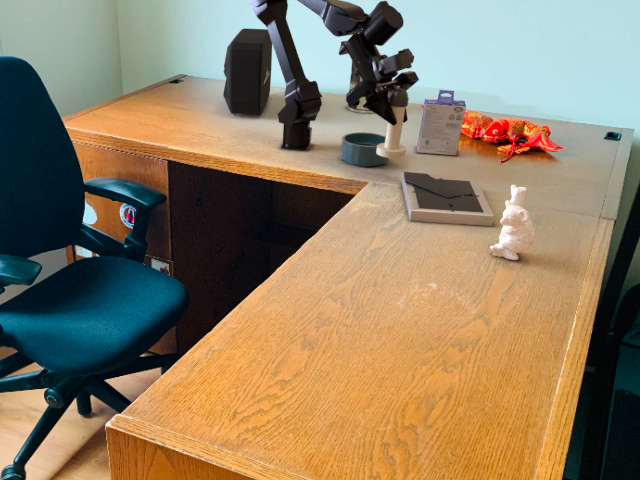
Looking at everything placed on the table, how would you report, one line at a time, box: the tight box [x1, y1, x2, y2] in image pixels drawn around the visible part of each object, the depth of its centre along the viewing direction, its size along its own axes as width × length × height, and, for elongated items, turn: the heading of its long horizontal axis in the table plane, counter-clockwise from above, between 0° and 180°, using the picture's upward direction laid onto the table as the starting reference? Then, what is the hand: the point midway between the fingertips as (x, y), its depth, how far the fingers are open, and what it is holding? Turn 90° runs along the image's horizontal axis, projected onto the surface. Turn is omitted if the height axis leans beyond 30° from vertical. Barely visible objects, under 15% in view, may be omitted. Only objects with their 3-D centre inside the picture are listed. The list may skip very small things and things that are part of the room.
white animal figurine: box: [489, 184, 536, 261], centre depth 115 cm, size 8×7×12 cm
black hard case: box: [222, 28, 273, 116], centre depth 197 cm, size 30×12×20 cm, turn 172°
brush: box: [376, 88, 410, 159], centre depth 145 cm, size 6×6×14 cm
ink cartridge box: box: [416, 89, 467, 156], centre depth 164 cm, size 10×6×14 cm, turn 78°
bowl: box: [339, 131, 390, 167], centre depth 160 cm, size 12×12×5 cm
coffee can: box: [346, 60, 375, 114], centre depth 198 cm, size 10×10×14 cm
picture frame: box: [401, 171, 495, 227], centre depth 138 cm, size 16×3×21 cm
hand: (400, 123), depth 144 cm, fingers closed on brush, 3 cm apart
